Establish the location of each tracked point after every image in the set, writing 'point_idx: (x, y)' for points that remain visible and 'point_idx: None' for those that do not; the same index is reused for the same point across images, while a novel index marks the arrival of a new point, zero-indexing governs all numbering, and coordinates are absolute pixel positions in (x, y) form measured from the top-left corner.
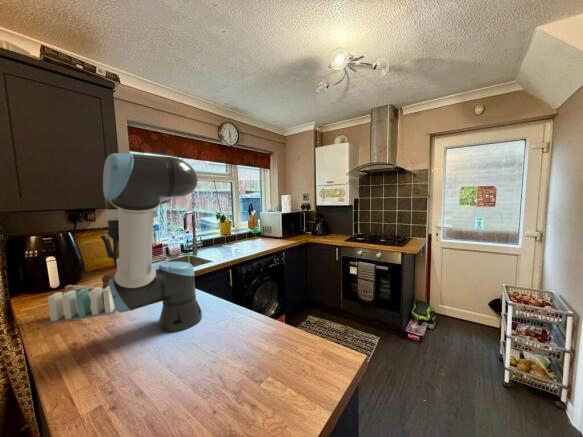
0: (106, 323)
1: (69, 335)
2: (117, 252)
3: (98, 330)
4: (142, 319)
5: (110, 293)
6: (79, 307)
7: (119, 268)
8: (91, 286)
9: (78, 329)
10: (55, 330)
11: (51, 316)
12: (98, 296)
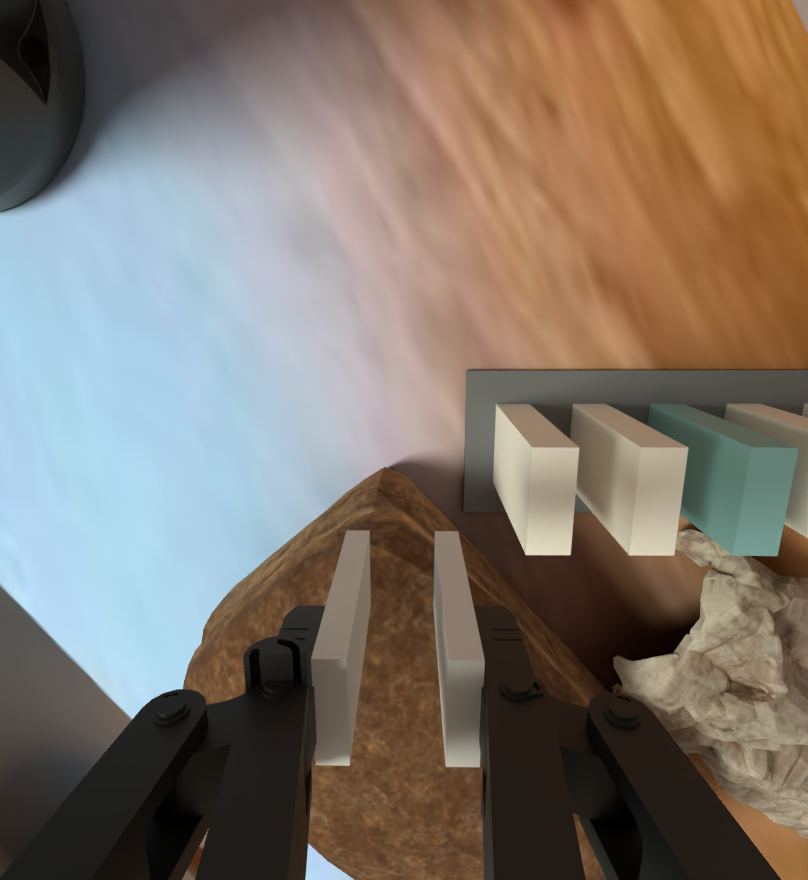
0: (468, 239)
1: (644, 142)
2: (486, 822)
3: (483, 144)
4: (240, 207)
5: (520, 467)
6: (709, 418)
7: (438, 566)
8: (752, 767)
9: (620, 215)
10: (760, 260)
11: None
12: (610, 472)
